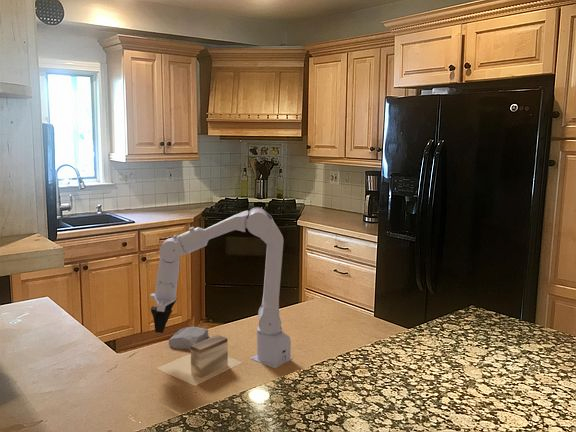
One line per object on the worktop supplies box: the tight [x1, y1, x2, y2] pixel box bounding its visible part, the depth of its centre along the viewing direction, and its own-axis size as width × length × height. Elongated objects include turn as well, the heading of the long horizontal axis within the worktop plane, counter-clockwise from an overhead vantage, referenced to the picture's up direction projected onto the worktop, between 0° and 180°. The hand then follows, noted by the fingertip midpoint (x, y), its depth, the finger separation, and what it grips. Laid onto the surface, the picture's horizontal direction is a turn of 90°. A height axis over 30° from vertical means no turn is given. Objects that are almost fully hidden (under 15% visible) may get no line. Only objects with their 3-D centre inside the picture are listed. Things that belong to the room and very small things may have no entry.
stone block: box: [168, 326, 209, 350], centre depth 167 cm, size 12×5×10 cm
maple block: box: [189, 334, 229, 378], centre depth 147 cm, size 4×10×8 cm, turn 141°
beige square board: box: [155, 353, 243, 387], centre depth 150 cm, size 16×18×1 cm
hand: (161, 327), depth 151 cm, fingers open, 7 cm apart
